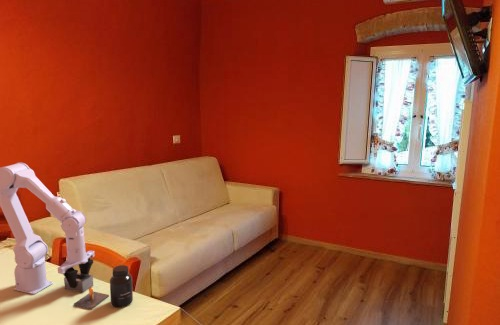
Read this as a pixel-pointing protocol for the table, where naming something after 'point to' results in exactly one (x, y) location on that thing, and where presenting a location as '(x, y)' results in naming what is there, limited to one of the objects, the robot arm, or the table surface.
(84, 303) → the keeper
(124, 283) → the supplement bottle
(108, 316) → the table surface
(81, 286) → the hollow rectangular frame
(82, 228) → the robot arm
